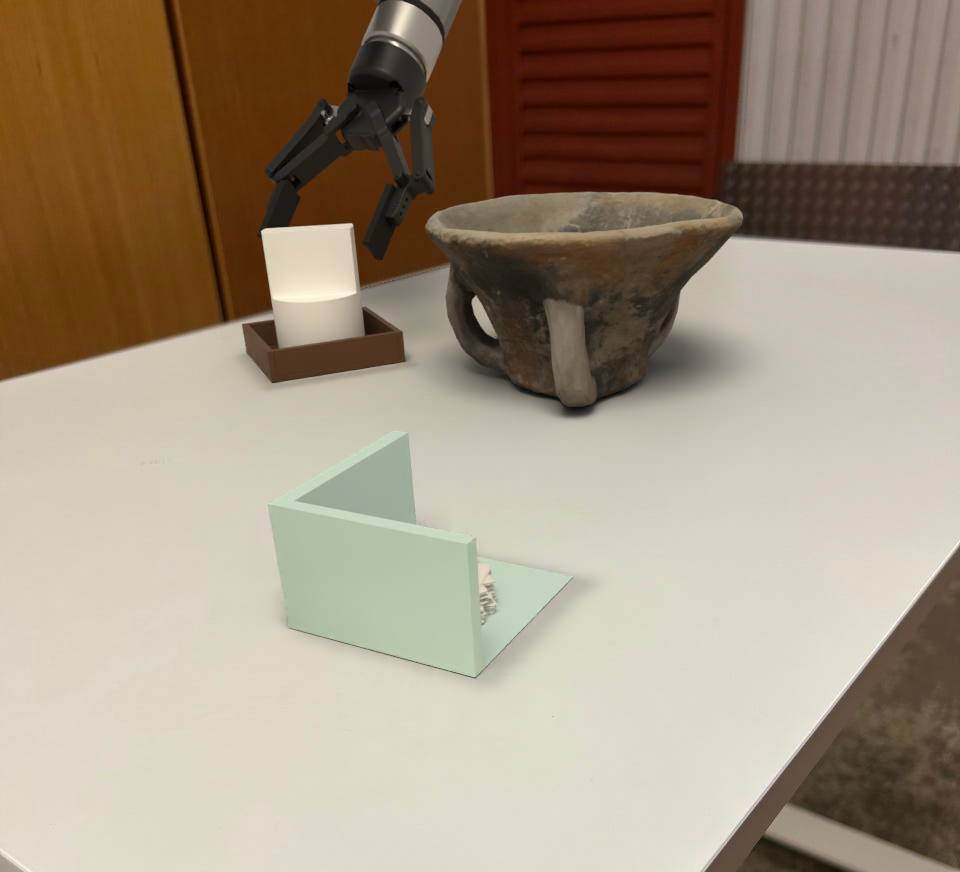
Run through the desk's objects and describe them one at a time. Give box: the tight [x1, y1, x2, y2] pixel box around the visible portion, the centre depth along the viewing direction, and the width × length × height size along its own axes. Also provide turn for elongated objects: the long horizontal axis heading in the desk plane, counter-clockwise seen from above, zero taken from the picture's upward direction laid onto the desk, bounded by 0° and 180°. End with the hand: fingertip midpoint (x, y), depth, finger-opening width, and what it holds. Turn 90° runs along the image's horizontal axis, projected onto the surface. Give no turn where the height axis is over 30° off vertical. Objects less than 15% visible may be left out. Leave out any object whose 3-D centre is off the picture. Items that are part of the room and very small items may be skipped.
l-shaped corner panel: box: [267, 429, 574, 678], centre depth 55 cm, size 12×12×8 cm
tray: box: [241, 306, 406, 384], centre depth 102 cm, size 14×13×3 cm
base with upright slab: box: [261, 222, 365, 349], centre depth 100 cm, size 9×9×12 cm
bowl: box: [424, 191, 744, 408], centre depth 89 cm, size 27×26×15 cm
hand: (318, 247), depth 99 cm, fingers open, 13 cm apart
